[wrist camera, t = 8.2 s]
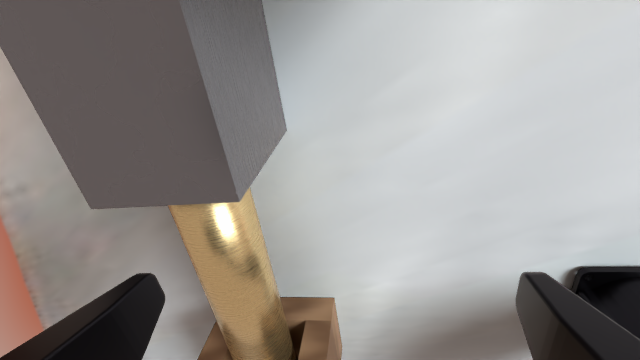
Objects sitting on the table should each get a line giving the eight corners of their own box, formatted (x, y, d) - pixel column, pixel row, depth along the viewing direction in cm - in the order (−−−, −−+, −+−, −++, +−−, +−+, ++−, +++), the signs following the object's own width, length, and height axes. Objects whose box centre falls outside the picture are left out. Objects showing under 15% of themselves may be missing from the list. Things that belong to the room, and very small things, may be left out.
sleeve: (241, -105, 14) (116, -209, 7) (286, 130, 19) (239, 202, 12) (110, -74, 15) (-103, -138, 8) (185, 139, 20) (90, 209, 13)
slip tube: (243, 100, 16) (205, 128, 12) (305, 352, 25) (295, 412, 21) (167, 108, 17) (110, 137, 13) (255, 350, 26) (236, 407, 22)
